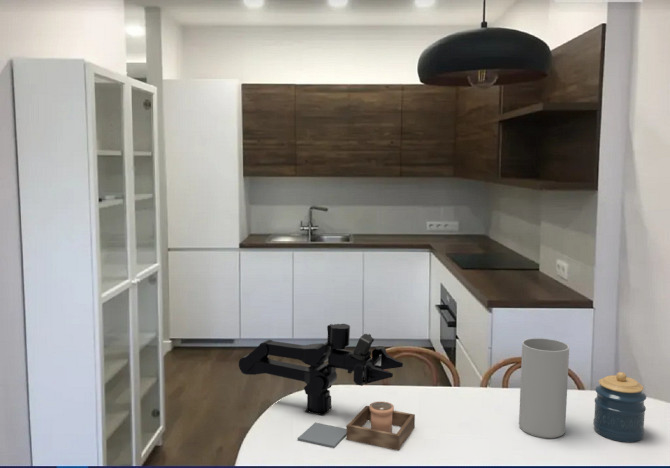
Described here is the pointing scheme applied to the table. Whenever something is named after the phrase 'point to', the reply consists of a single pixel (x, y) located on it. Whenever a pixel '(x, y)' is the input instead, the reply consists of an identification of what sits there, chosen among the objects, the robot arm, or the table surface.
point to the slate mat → (323, 435)
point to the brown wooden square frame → (376, 436)
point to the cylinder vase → (543, 387)
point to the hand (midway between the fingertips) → (397, 369)
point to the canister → (619, 408)
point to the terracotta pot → (381, 416)
